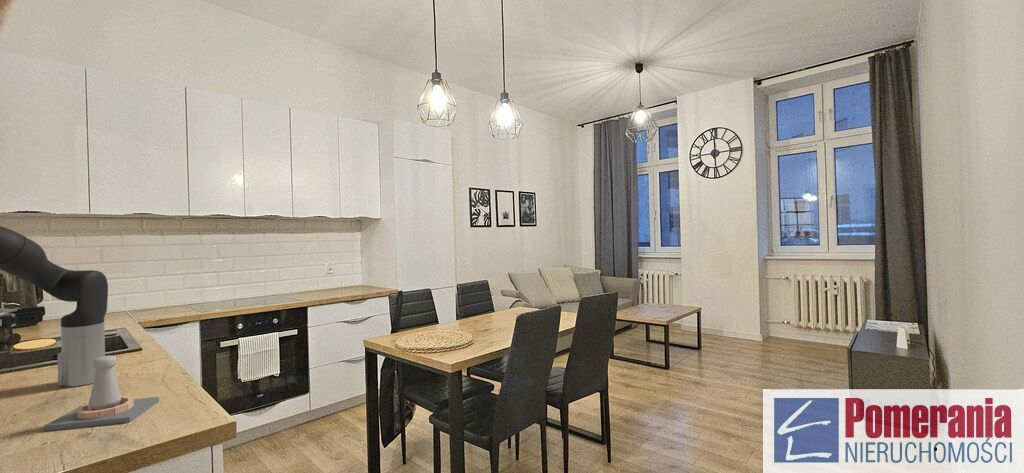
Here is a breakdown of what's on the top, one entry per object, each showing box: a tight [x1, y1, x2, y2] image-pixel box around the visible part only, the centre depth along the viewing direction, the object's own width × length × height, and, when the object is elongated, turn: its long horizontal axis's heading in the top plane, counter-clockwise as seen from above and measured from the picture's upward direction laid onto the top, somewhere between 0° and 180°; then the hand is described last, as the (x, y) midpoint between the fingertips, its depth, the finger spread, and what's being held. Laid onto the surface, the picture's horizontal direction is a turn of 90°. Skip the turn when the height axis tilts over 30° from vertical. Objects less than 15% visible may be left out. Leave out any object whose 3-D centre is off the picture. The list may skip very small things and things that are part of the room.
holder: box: [43, 395, 160, 432], centre depth 106 cm, size 16×13×3 cm
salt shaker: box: [88, 355, 122, 411], centre depth 105 cm, size 6×6×13 cm
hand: (43, 313), depth 98 cm, fingers open, 8 cm apart
